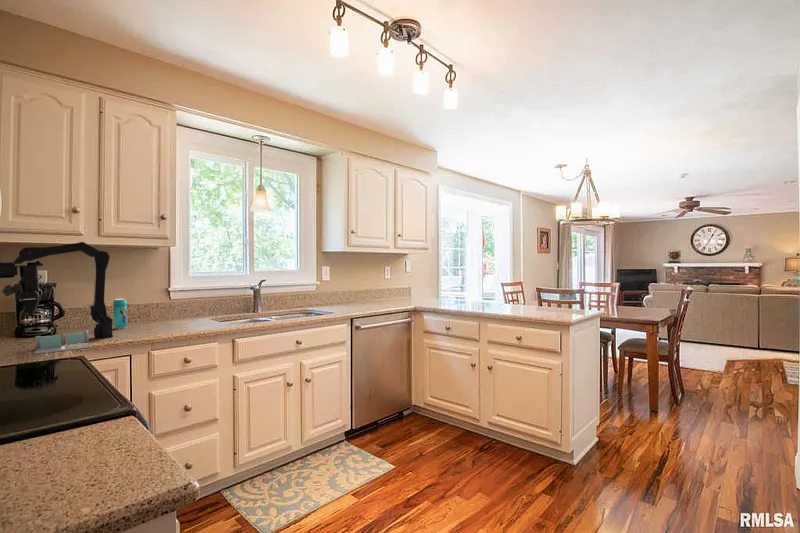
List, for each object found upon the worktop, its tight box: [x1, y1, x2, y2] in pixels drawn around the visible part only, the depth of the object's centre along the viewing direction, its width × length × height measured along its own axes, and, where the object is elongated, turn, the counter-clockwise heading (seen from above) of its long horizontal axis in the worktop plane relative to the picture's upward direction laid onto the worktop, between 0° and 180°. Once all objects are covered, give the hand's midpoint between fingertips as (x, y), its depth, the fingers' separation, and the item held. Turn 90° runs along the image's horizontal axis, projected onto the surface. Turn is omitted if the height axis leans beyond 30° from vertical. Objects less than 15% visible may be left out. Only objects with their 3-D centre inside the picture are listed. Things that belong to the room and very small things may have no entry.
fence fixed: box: [65, 329, 90, 345], centre depth 179 cm, size 7×2×5 cm, turn 127°
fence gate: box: [34, 333, 67, 349], centre depth 174 cm, size 10×2×5 cm, turn 127°
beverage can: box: [112, 298, 128, 330], centre depth 217 cm, size 6×6×15 cm
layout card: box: [34, 341, 90, 355], centre depth 175 cm, size 17×18×1 cm
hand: (31, 314), depth 177 cm, fingers open, 9 cm apart
